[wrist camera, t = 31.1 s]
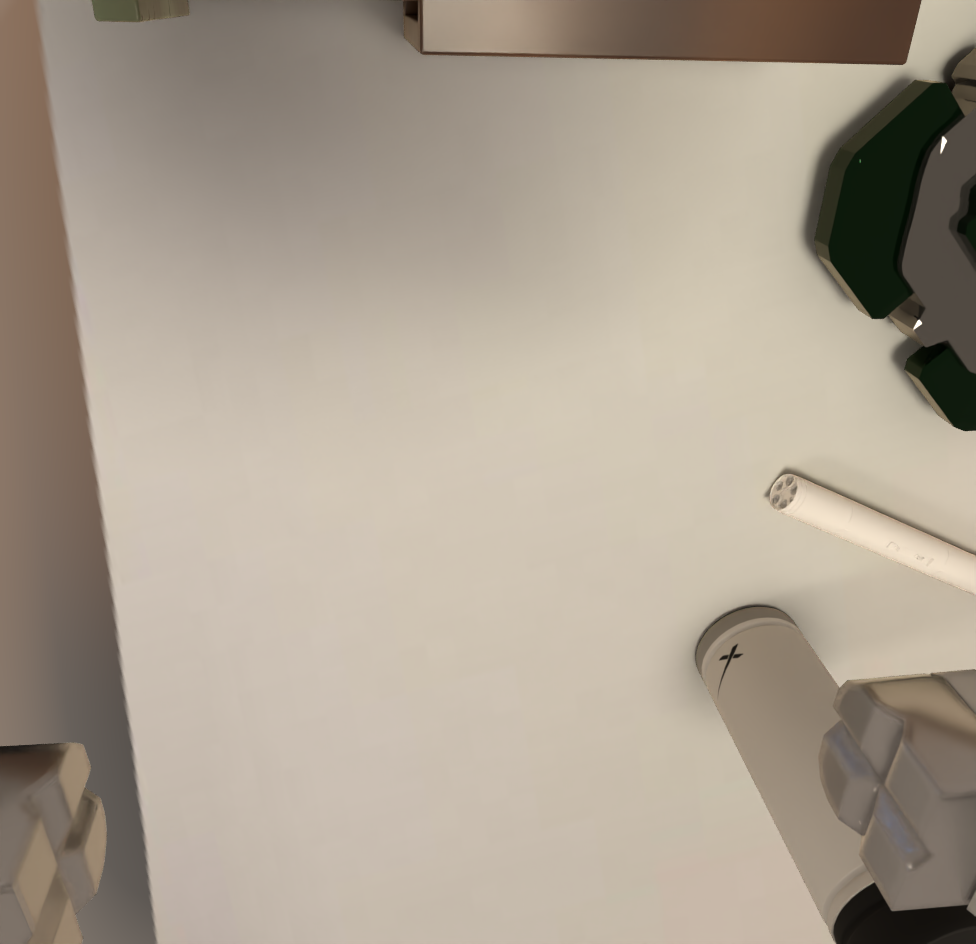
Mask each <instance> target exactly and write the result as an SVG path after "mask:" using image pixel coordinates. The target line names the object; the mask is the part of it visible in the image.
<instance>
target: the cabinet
mask: <svg viewBox="0 0 976 944" xmlns="http://www.w3.org/2000/svg"><path fill="white" fill-rule="evenodd" d="M920 4H921V0H418V1H405V0H403V19H404V38H405V39H406V40H407V41H408V42H409V43H410V44H411V45H412V46H413V47H414V48H415V49H416V50H417V51H418V52H420V53H421V54H423V55H457V56H504V57H552V58H600V59H648V60H695V61H743V62H791V63H839V64H887V65H903V64H905V63H906V61H907V57H908V53H909V49H910V45H911V41H912V37H913V33H914V29H915V25H916V21H917V17H918V13H919V8H920Z"/></svg>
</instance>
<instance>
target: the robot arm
mask: <svg viewBox="0 0 976 944" xmlns="http://www.w3.org/2000/svg"><path fill="white" fill-rule="evenodd" d="M833 707H834V709H835V711H836V712H837V714H838V715H839V717H840V718H841V719H840V720H839V721H838V722H837V723H836V724H835V725H834V726H833V727H832V728H831V729H829V730H828V731H827V732H826V733H825V734H824V735H823V739H822V743H821V747H820V751H819V755H818V760H819V770H820V780H821V783H822V786H823V789H824V792H825V795H826V798H827V800H828V802H829V804H830V806H831V807H832V809H833V811H834V813H835V815H836V816H837V818H838V820H840V821H841V822H843V823H844V824H846V825H847V826H848V827H850V828H851V829H853V830H854V831H856V832H857V833H858V834H860V835H861V843H860V850H859V856H860V858H861V860H862V861H863V863H864V865H865V866H866V868H867V870H868V872H869V873H870V875H871V877H872V878H873V880H874V882H875V884H876V885H877V887H878V889H879V890H880V892H881V894H882V895H883V897H884V899H885V901H886V902H887V904H888V906H889V907H890V909H891V911H901V910H912V909H924V908H935V907H947V906H959V905H968V907H967V910H968V911H970V912H971V913H972V914H973V915H974V916H976V670H975V669H972V670H960V671H949V672H937V673H931V674H913V675H902V676H891V677H880V678H869V679H858V680H847V681H846V682H845V683H844V684H843V685H842V686H841V687H840V688H839V689H838V691H837V694H836V697H835V700H834V703H833ZM90 770H91V766H90V762H89V760H88V757H87V754H86V751H85V749H84V746H83V744H79V743H74V742H73V743H56V744H55V743H54V744H37V745H19V746H0V944H82V940H83V936H82V933H81V930H80V927H79V924H78V921H77V918H76V914H77V913H78V912H79V911H80V910H81V909H82V908H83V907H84V906H85V905H86V904H87V903H88V902H89V901H90V900H91V899H92V898H93V897H94V896H95V895H96V893H97V889H98V886H99V882H100V878H101V875H102V871H103V868H104V860H105V850H106V841H107V831H106V819H105V812H104V809H103V806H102V802H101V799H100V797H98V796H97V795H95V794H94V793H93V792H91V791H89V790H88V789H86V788H85V784H86V781H87V779H88V776H89V773H90Z"/></svg>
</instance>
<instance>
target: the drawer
mask: <svg viewBox="0 0 976 944" xmlns="http://www.w3.org/2000/svg"><path fill="white" fill-rule="evenodd" d="M405 1H418V0H405ZM92 5H93V10H94V16H95V19H96V20H97V21H109V22H144V21H151V20H158V19H166V18H173V17H180V16H187V15H189V13H190V12H189V4H188V0H92Z"/></svg>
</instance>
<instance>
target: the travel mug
mask: <svg viewBox="0 0 976 944" xmlns="http://www.w3.org/2000/svg"><path fill="white" fill-rule="evenodd" d="M696 665H697V668H698V671H699V673H700V675H701V677H702V679H703V681H704V683H705V685H706V686H707V688H708V691H709V693H710V695H711V697H712V699H713V701H714V703H715V705H716V707H717V709H718V711H719V713H720V715H721V717H722V719H723V721H724V723H725V725H726V727H727V729H728V731H729V733H730V735H731V737H732V739H733V741H734V743H735V745H736V747H737V749H738V751H739V753H740V755H741V757H742V759H743V761H744V763H745V765H746V767H747V769H748V771H749V773H750V775H751V777H752V779H753V781H754V783H755V785H756V787H757V789H758V791H759V793H760V795H761V797H762V799H763V801H764V803H765V805H766V807H767V809H768V810H769V812H770V814H771V816H772V818H773V820H774V822H775V824H776V826H777V828H778V830H779V832H780V834H781V836H782V838H783V840H784V842H785V844H786V846H787V848H788V850H789V852H790V854H791V856H792V858H793V860H794V862H795V864H796V866H797V868H798V870H799V872H800V874H801V876H802V878H803V880H804V882H805V884H806V886H807V888H808V890H809V892H810V894H811V896H812V898H813V900H814V902H815V904H816V906H817V908H818V910H819V912H820V914H821V916H822V918H823V920H824V922H825V923H826V925H827V926H828V929H829V932H830V934H831V936H832V938H833V940H834V941H835V943H836V944H976V916H974V915H973V914H972V913H971V912H970V911H968V910H967V907H968V905H959V906H947V907H935V908H924V909H912V910H901V911H891V909H890V907H889V906H888V904H887V902H886V901H885V899H884V897H883V895H882V894H881V892H880V890H879V889H878V887H877V885H876V884H875V882H874V880H873V878H872V877H871V875H870V873H869V872H868V870H867V868H866V866H865V865H864V863H863V861H862V860H861V858H860V856H859V850H860V843H861V835H860V834H858V833H857V832H856V831H854V830H853V829H851V828H850V827H848V826H847V825H846V824H844V823H843V822H841V821H840V820H838V818H837V816H836V815H835V813H834V811H833V809H832V807H831V806H830V804H829V802H828V800H827V798H826V795H825V792H824V789H823V786H822V783H821V780H820V770H819V760H818V755H819V751H820V747H821V743H822V739H823V735H824V734H825V733H826V732H827V731H828V730H829V729H831V728H832V727H833V726H834V725H835V724H836V723H837V722H838V721H839V720H840V719H841V718H840V717H839V715H838V714H837V712H836V711H835V709H834V707H833V703H834V700H835V697H836V694H837V691H838V689H839V686H838V685H837V683H836V682H835V681H834V679H833V678H832V676H831V675H830V673H829V672H828V670H827V669H826V668H825V666H824V665H823V663H822V662H821V660H820V659H819V657H818V656H817V655H816V653H815V652H814V650H813V649H812V647H811V646H810V644H809V643H808V641H807V640H806V639H805V638H804V636H803V634H802V633H801V631H800V630H799V628H798V627H797V626H796V624H795V623H794V621H793V620H792V619H791V618H790V617H789V616H788V615H787V614H785V613H783V612H782V611H780V610H776V609H773V608H769V607H750V608H746V609H741V610H738V611H736V612H733V613H731V614H729V615H727V616H725V617H723V618H722V619H720V620H719V621H718V622H716V623H715V624H714V625H713V626H712V627H711V628H710V629H709V630H708V631H707V632H706V633H705V635H704V636H703V638H702V639H701V641H700V644H699V646H698V648H697V653H696Z"/></svg>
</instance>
